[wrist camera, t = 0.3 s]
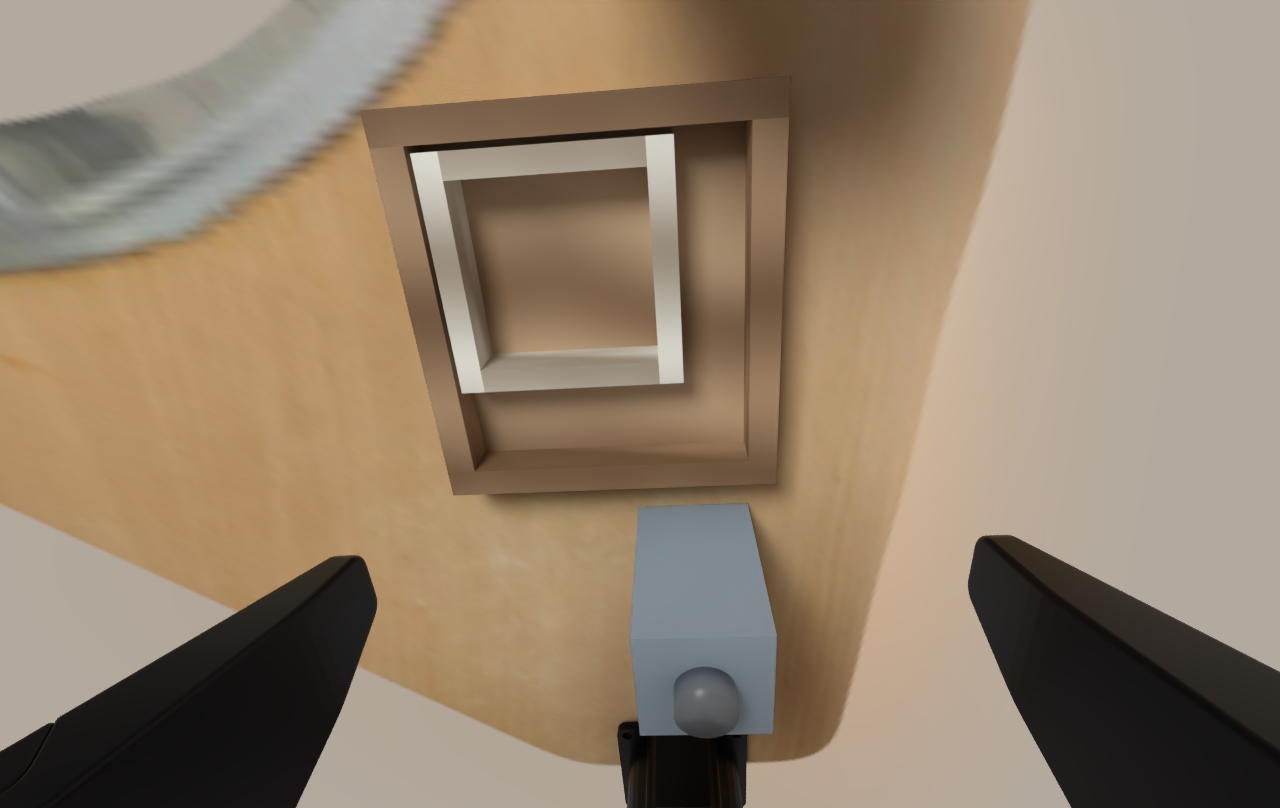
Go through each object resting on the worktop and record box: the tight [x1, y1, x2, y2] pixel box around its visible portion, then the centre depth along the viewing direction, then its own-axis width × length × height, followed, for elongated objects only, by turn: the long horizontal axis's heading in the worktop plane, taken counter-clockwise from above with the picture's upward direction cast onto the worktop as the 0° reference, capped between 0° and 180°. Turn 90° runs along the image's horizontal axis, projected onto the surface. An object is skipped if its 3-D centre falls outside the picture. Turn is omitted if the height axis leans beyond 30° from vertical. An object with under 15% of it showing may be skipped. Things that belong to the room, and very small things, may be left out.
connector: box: [630, 503, 777, 738], centre depth 22 cm, size 4×4×8 cm
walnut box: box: [360, 76, 791, 495], centre depth 20 cm, size 13×12×2 cm
